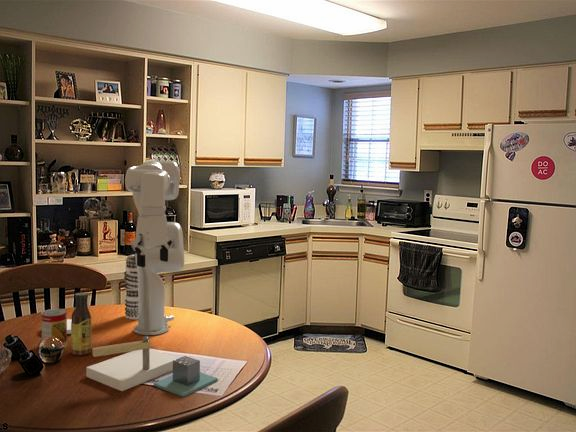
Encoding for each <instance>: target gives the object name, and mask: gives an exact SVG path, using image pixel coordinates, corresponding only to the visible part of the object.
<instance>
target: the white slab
mask: <svg viewBox="0 0 576 432" xmlns="http://www.w3.org/2000/svg"><path fill="white" fill-rule="evenodd" d="M178 358H179V357H176V356H173V355H170V354H167V353H164V352H161V351H158V350H155V349H151V347H150V348H149V349H142V350H136V351H129V352H125V353H123V354H121V355H118V356H114V357H112V358H109V359H106V360H104V361H101V362H98V363H95V364H91V365H88V366H86V377H87V378H89V379H91V380H93V381H96V382H98V383H101V384H103V385H105V386H108V387H111V388H113V389H115V390H118V391H121V392H124V391H126V390H129V389H131V388H134V387H136V386H138V385H141V384H143V383H146V382H149V381H151V380H153V379H155V378H157V377H160V376H163V375H165V374H167V373H169V372H173V360H176V359H178Z"/></svg>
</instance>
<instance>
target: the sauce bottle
mask: <svg viewBox="0 0 576 432" xmlns="http://www.w3.org/2000/svg"><path fill="white" fill-rule="evenodd" d="M88 298H89V294H88V293H87V292H77V293H74V300H75V304H74V307H75V308H74V310H73V311H72V313H71V319H72V322H71V334H70V338H71V339H70V341H71V342H70V349H71V354H72V355H73V356H84V355H89V354H90V353H91V352H92V316H91V313H90V310H89V307H88V306H89V305H88Z"/></svg>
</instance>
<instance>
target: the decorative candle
mask: <svg viewBox="0 0 576 432" xmlns="http://www.w3.org/2000/svg"><path fill="white" fill-rule="evenodd" d="M124 260H125V271H124V272H123V275H124V277H123V279H124V289H125V290H126V291H125V293H126V294H125V299H124V303H125V304H124V305H125V307H124V311H125V312H124V314H125V316H124V317H125V318H126V319H127V318H129V319H128V320H138V273H137V266H136V254H135V253H133V254H129V255H127V258H125V259H124Z"/></svg>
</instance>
